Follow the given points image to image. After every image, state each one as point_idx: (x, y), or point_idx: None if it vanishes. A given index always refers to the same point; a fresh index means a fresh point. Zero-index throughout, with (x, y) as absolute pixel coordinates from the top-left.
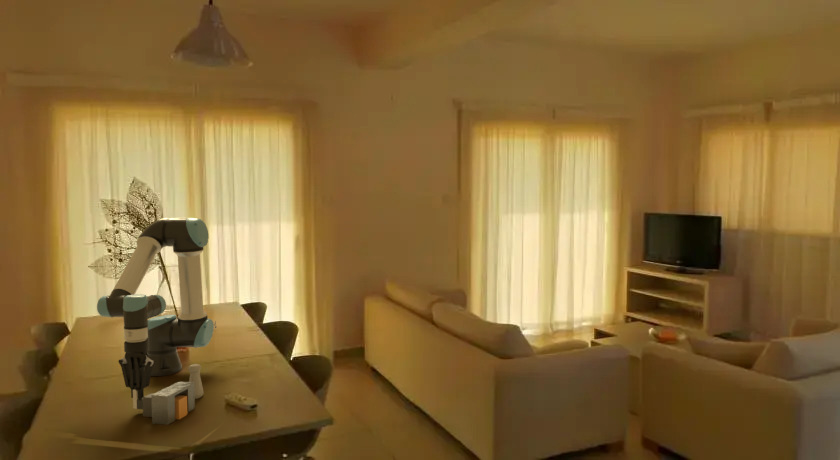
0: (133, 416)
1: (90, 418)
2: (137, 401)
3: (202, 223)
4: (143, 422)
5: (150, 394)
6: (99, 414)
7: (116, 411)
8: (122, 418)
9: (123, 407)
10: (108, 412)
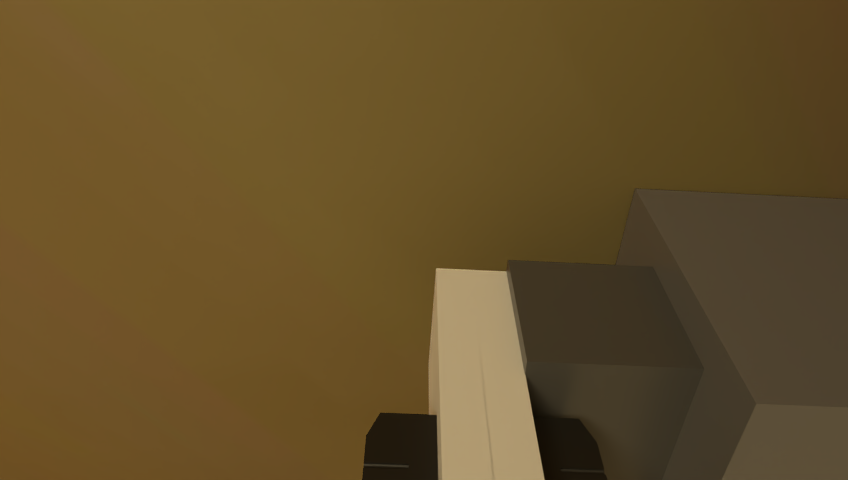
0: None
1: (38, 463)
2: None
3: None
4: None
5: (769, 466)
6: (5, 368)
7: (112, 257)
8: None
9: (50, 96)
10: (43, 302)
